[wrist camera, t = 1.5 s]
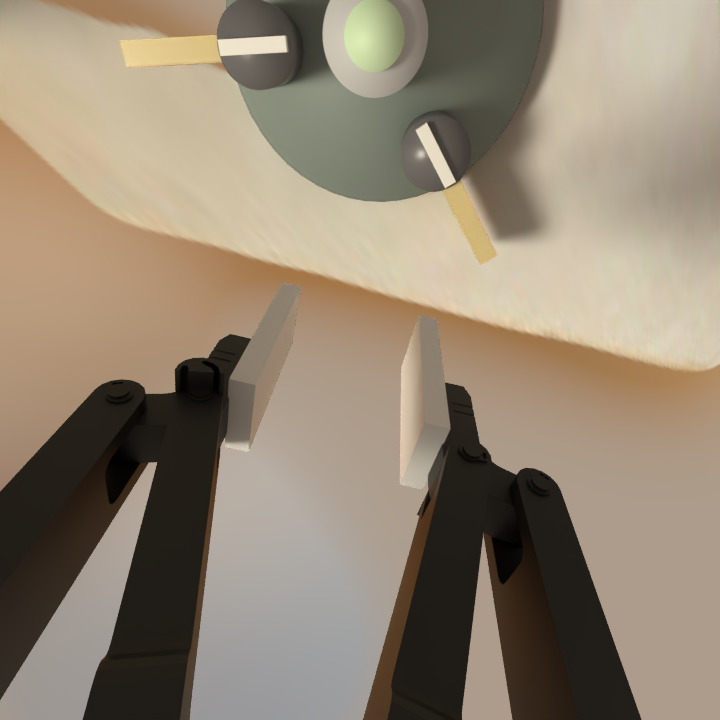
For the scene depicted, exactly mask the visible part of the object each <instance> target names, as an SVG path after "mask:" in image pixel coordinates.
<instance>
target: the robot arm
mask: <svg viewBox="0 0 720 720" xmlns="http://www.w3.org/2000/svg"><path fill="white" fill-rule="evenodd" d="M300 291H301V287H299V286H295V285H290V284H286V283H282V285H281V286H280V288H279V290H278V292H277V294H276V295H275V297H274V299H273V301H272V303H271V304H270V306H269V308H268V310H267V312H266V313H265V315H264V317H263V319H262V321H261V322H260V324H259V326H258V328H257V330H256V332H255V333H254V335H253V337H252V339H249V338H245V337H240V336H236V335H231V334H230V335H228V336H226V337H224V338H223V339H221V340H220V341H219V342H218V343H217V345H216V347H215V348H214V350H213V351H212V352H211V354H210V355H209V358H207V359H206V358H192V359H188V360H185V361H183V362H182V363H180V364H179V365H178V366H177V368H176V369H175V390H176V392H173V393H168V394H146V393H145V389H144V387H143V386H141V385H140V384H139V383H137V382H134V381H131V380H114V381H110V382H107V383H104V384H102V385H100V386H99V387H98V388H96V389H95V390H94V391H93V392H92V393H91V394H90V396H89V397H88V398H87V399H86V400H85V401H84V402H83V403H82V404H81V405H80V406H79V407H78V408H77V410H76V411H75V412H74V413H73V414H72V415H71V416H70V417H69V418H68V419H67V420H66V421H65V422H64V424H63V425H62V426H61V427H60V428H59V429H58V430H57V431H56V432H55V433H54V434H53V435H52V436H51V438H50V439H49V440H48V441H47V442H46V443H45V444H44V445H43V446H42V447H41V448H40V449H39V450H38V452H37V453H36V454H35V455H34V456H33V457H32V458H31V459H30V460H29V461H28V462H27V463H26V464H25V466H24V467H23V468H22V469H21V470H20V471H19V472H18V473H17V474H16V475H15V476H14V478H12V480H11V481H10V482H9V483H8V484H7V485H6V486H5V487H4V488H3V489H2V490H1V491H0V699H1V698H2V696H3V695H4V693H5V691H6V690H7V688H8V687H9V685H10V683H11V682H12V680H13V679H14V677H15V675H16V674H17V672H18V671H19V669H20V667H21V666H22V664H23V662H24V661H25V659H26V658H27V656H28V654H29V653H30V651H31V650H32V648H33V647H34V645H35V643H36V642H37V640H38V638H39V637H40V635H41V634H42V632H43V630H44V629H45V628H46V626H47V624H48V623H49V621H50V620H51V618H52V616H53V614H54V613H55V611H56V610H57V608H58V607H59V605H60V604H61V602H62V600H63V598H64V597H65V596H66V594H67V592H68V591H69V589H70V587H71V586H72V584H73V583H74V581H75V580H76V578H77V576H78V575H79V573H80V572H81V570H82V568H83V566H84V565H85V563H86V562H87V560H88V559H89V557H90V556H91V554H92V552H93V551H94V549H95V548H96V546H97V544H98V543H99V541H100V539H101V538H102V536H103V535H104V533H105V532H106V530H107V528H108V527H109V525H110V523H111V522H112V520H113V519H114V517H115V516H116V514H117V512H118V511H119V509H120V508H121V506H122V504H123V503H124V501H125V500H126V498H127V496H128V495H129V493H130V492H131V490H132V488H133V487H134V485H135V484H136V482H137V480H138V479H139V477H140V475H141V474H142V472H143V471H144V469H145V468H146V466H147V464H148V463H149V462H157V466H156V470H155V474H154V478H153V482H152V485H151V489H150V493H149V498H148V501H147V505H146V509H145V513H144V517H143V520H142V524H141V528H140V532H139V536H138V540H137V544H136V547H135V551H134V555H133V559H132V563H131V567H130V571H129V575H128V578H127V582H126V586H125V590H124V594H123V598H122V602H121V605H120V609H119V613H118V617H117V621H116V625H115V629H114V633H113V636H112V641H111V644H110V647H109V650H108V652H107V655H106V656H105V657H104V658H103V659H102V660H101V662H100V664H99V666H98V669H97V671H96V675H95V677H94V681H93V684H92V688H91V691H90V695H89V698H88V702H87V706H86V710H85V713H84V717H83V720H190V708H191V698H192V689H193V680H194V671H195V663H196V655H197V646H198V638H199V630H200V621H201V611H202V604H203V595H204V587H205V578H206V570H207V561H208V553H209V544H210V535H211V527H212V519H213V509H214V502H215V493H216V484H217V476H218V467H219V459H220V446H221V444H222V442H223V440H224V438H225V447H229V448H233V449H238V450H243V451H247V452H249V449H250V447H251V444H252V442H253V439H254V437H255V434H256V432H257V429H258V427H259V424H260V422H261V420H262V417H263V414H264V412H265V410H266V407H267V405H268V402H269V399H270V397H271V395H272V392H273V390H274V387H275V385H276V382H277V379H278V377H279V375H280V372H281V369H282V367H283V365H284V362H285V360H286V357H287V355H288V352H289V350H290V347H291V345H292V342H293V335H294V328H295V322H296V316H297V310H298V303H299V297H300ZM400 436H401V437H400V485H404V486H409V487H413V488H418V489H423V488H424V486H425V484H426V481H427V479H428V488H429V490H428V492H427V495H426V497H425V499H424V501H423V503H422V505H421V507H420V510H419V512H418V514H417V515H419V520H418V523H417V528H416V531H415V534H414V538H413V541H412V545H411V549H410V552H409V556H408V559H407V563H406V567H405V570H404V574H403V578H402V581H401V585H400V588H399V592H398V596H397V599H396V603H395V606H394V610H393V614H392V617H391V621H390V624H389V628H388V632H387V635H386V639H385V643H384V646H383V650H382V654H381V657H380V661H379V664H378V668H377V671H376V675H375V679H374V682H373V686H372V690H371V693H370V697H369V700H368V704H367V708H366V711H365V715H364V718H363V720H462V706H463V697H464V689H465V680H466V672H467V664H468V655H469V646H470V639H471V630H472V622H473V613H474V606H475V597H476V589H477V580H478V571H479V564H480V555H481V547H482V539H483V532H484V540H485V546H486V553H487V559H488V566H489V572H490V579H491V585H492V591H493V598H494V604H495V610H496V617H497V623H498V629H499V636H500V642H501V649H502V655H503V662H504V668H505V674H506V681H507V687H508V693H509V700H510V707H511V713H512V719H513V720H641V717H640V714H639V711H638V709H637V706H636V703H635V700H634V697H633V694H632V692H631V689H630V686H629V683H628V680H627V677H626V675H625V672H624V669H623V666H622V663H621V661H620V658H619V655H618V652H617V650H616V646H615V643H614V641H613V638H612V635H611V632H610V629H609V626H608V624H607V621H606V618H605V615H604V612H603V610H602V606H601V604H600V601H599V598H598V595H597V592H596V589H595V587H594V584H593V581H592V578H591V575H590V572H589V570H588V567H587V564H586V561H585V558H584V556H583V553H582V550H581V547H580V545H579V541H578V538H577V536H576V533H575V530H574V527H573V524H572V521H571V519H570V516H569V513H568V510H567V507H566V504H565V502H564V499H563V496H562V493H561V491H560V489H559V487H558V485H557V484H556V482H555V481H554V480H553V479H552V478H551V477H549V476H548V475H547V474H545V473H543V472H542V471H539V470H536V469H533V468H525V469H522V470H520V471H519V473H518V474H517V475H515V474H513V473H511V472H509V471H507V470H505V469H503V468H501V467H499V466H497V465H496V464H494V463H493V462H492V461H491V456H490V454H489V452H488V451H487V449H486V448H484V447H483V446H482V445H481V444H480V442H479V437H478V432H477V427H476V422H475V417H474V412H473V409H472V402H471V397H470V395H469V394H468V392H467V391H466V390H465V388H464V387H462V386H458V385H454V384H449V383H445V380H444V372H443V364H442V356H441V348H440V339H439V332H438V324H437V319H434V318H430V317H426V316H421V315H419V317H418V320H417V323H416V326H415V329H414V332H413V335H412V338H411V340H410V343H409V346H408V350H407V353H406V356H405V358H404V362H403V364H402V367H401V435H400Z"/></svg>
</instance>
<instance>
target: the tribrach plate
mask: <svg viewBox="0 0 720 720" xmlns="http://www.w3.org/2000/svg"><path fill="white" fill-rule="evenodd" d="M235 1H237V0H226V9H227V8H228V6H229V5H231V4H232V3H233V2H235ZM263 1H265V2H267V3H270V4H272V5H274V6H277V7H279V8H281V9H282V10H284V11H285V12H286V13H287V14H289V15H290V16H291V18H292V19H293V20H294V22H295V23H296V25H297V27H298V29H299V31H300V34H301V37H302V42H303V59H302V63H301V67H300V69H299V71H298V73H297V75H296V76H295V77H294V78H293V79H292V80H291V81H290V82H289V83H287V84H286V85H284V86H281V87H277V88H271V89H266V90H252V89H249V88H246V87H244V86H242V85H241V84H239V83H238V85H239V88H240V91H241V94H242V96H243V99H244V101H245V103H246V105H247V107H248V110H249V112H250V114H251V116H252V118H253V119H254V121H255V123H256V124H257V126H258V128H259V130H260V131H261V133H262V134H263V136H264V137H265V138H266V140H267V141H268V142H269V144H270V145H271V146H272V148H273V149H274V150H275V151H276V152H277V153H278V154H279V155H280V156H281V158H282V159H283V160H284V161H285V162H286V163H287V164H288V165H290V166H291V167H292V168H293V169H294V170H296V171H297V172H298V173H299V174H300V175H302V176H303V177H305V178H306V179H308V180H309V181H311V182H313V183H314V184H316V185H317V186H320V187H322V188H324V189H326V190H328V191H330V192H332V193H335V194H338V195H341V196H344V197H348V198H352V199H357V200H363V201H377V202H386V201H396V200H403V199H407V198H412V197H416V196H419V195H422V194H425V193H427V192H430V191H425V190H422V189H420V188H418V187H416V186H415V185H413V184H412V183H411V182H410V181H409V179H408V178H407V176H406V175H405V173H404V170H403V167H402V162H401V147H402V140H403V136H404V133H405V131H406V129H407V128H408V126H409V125H410V123H411V122H412V121H413V120H414V119H416V118H417V117H418V116H420V115H422V114H424V113H426V112H430V111H441V112H445V113H447V114H449V115H451V116H452V117H454V118H455V119H456V120H457V121H458V122H459V123H460V124H461V126H462V127H463V128H464V129H465V131H466V132H467V134H468V136H469V139H470V143H471V159H470V163H469V166H468V168H470V167H471V166H472V165H473V164H474V163H475V162H476V161H477V160H479V159H480V158H481V157H482V156H483V155H484V154H485V152H486V151H487V150H488V149H489V148H490V147H491V146H492V145H493V144H494V142H495V141H496V140H497V138H498V137H499V136H500V134H501V133H502V132H503V130H504V129H505V127H506V126H507V125H508V123H509V121H510V119H511V118H512V116H513V114H514V112H515V111H516V109H517V107H518V105H519V103H520V101H521V99H522V96H523V94H524V92H525V90H526V87H527V85H528V83H529V80H530V77H531V73H532V70H533V67H534V64H535V61H536V57H537V52H538V47H539V42H540V37H541V32H542V21H543V10H544V0H263ZM468 168H467V169H468Z"/></svg>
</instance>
